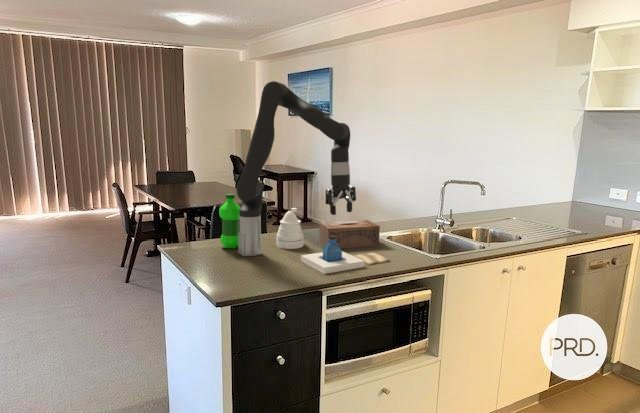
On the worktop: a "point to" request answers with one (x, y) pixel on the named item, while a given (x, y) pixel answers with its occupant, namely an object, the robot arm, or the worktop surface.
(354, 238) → the tissue box cover
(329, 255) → the perfume bottle
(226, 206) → the plastic bottle
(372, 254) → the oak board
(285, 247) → the honey pot
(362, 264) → the socket block
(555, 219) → the worktop surface
